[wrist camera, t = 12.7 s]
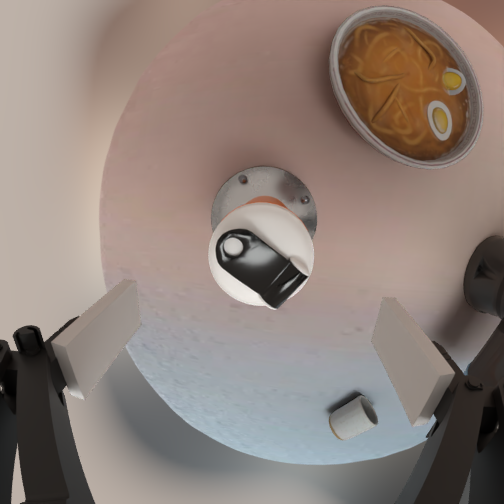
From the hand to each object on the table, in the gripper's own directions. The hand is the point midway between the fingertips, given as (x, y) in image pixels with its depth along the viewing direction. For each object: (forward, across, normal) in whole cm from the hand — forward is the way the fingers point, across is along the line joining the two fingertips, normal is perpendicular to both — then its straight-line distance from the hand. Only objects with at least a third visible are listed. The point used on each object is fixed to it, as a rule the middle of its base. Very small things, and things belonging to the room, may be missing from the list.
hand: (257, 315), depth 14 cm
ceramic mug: (+28, +21, -38) cm, 52 cm away
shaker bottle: (+27, 0, 0) cm, 27 cm away
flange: (+28, 0, 0) cm, 28 cm away
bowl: (+28, +18, +21) cm, 39 cm away
